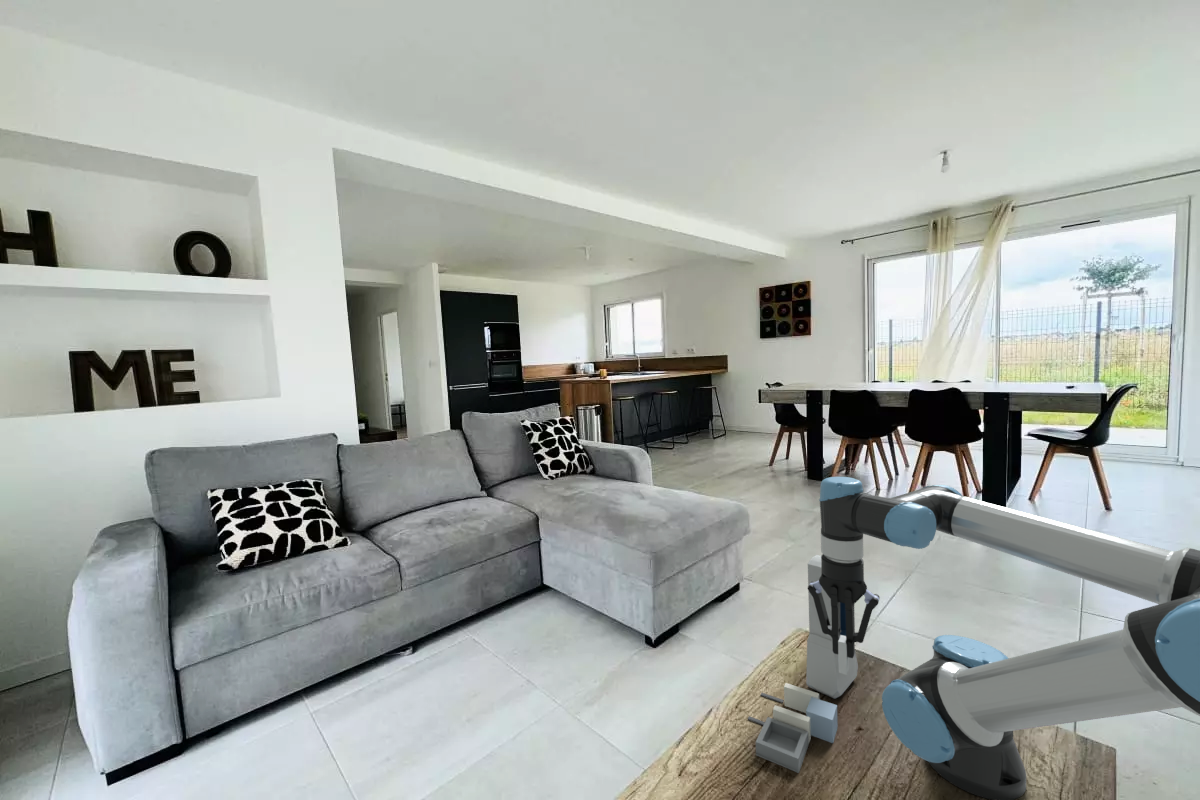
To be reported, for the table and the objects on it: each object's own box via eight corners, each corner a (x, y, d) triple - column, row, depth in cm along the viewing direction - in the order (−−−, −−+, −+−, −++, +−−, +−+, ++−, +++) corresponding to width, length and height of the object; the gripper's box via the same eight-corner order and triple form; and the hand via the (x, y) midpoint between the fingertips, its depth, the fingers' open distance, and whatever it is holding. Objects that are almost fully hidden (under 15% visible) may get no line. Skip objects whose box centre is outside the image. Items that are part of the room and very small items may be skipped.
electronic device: (827, 665, 122) (824, 548, 120) (859, 678, 117) (856, 556, 115) (805, 688, 114) (801, 564, 112) (838, 704, 108) (835, 573, 107)
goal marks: (783, 701, 110) (783, 700, 110) (771, 728, 102) (771, 727, 102) (761, 693, 113) (761, 692, 113) (747, 719, 105) (747, 718, 105)
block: (837, 728, 102) (837, 705, 101) (833, 743, 98) (832, 720, 97) (812, 719, 105) (811, 696, 104) (806, 734, 100) (806, 710, 100)
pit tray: (808, 744, 97) (808, 731, 97) (798, 773, 91) (798, 758, 91) (768, 729, 102) (767, 716, 102) (756, 755, 96) (755, 741, 95)
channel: (819, 713, 106) (819, 693, 106) (809, 743, 98) (808, 722, 98) (786, 701, 110) (785, 682, 110) (773, 729, 102) (772, 709, 102)
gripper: (881, 555, 95) (883, 670, 97) (811, 544, 103) (813, 651, 104) (877, 569, 89) (879, 692, 91) (802, 556, 97) (805, 669, 98)
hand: (843, 670), depth 98 cm, fingers closed
